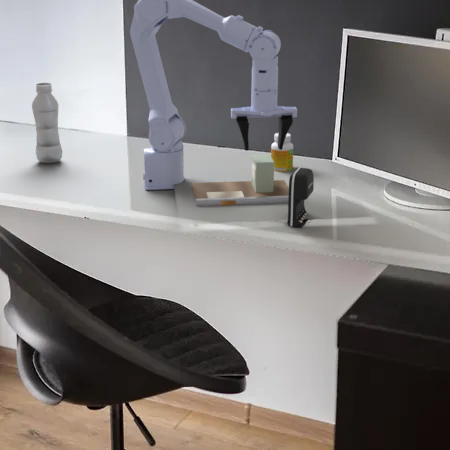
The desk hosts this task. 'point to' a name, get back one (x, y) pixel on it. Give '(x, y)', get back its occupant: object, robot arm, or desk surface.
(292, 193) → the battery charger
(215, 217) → the desk surface
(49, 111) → the plastic bottle
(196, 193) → the shelf board
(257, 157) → the carton
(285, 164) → the supplement bottle
